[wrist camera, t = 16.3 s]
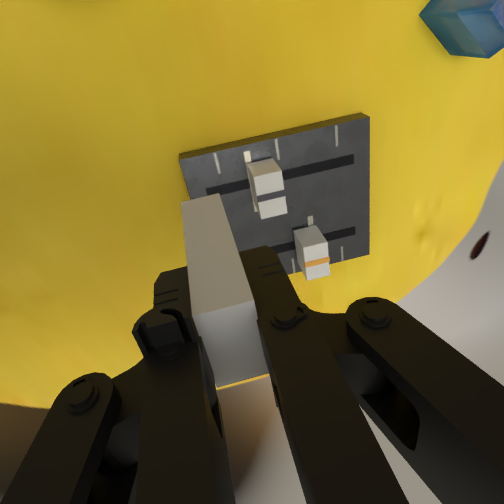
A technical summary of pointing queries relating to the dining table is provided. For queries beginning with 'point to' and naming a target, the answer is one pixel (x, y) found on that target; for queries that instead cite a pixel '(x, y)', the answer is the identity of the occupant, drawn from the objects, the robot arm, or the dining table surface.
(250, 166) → the fader
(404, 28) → the dining table surface
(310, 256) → the fader
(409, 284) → the dining table surface
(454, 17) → the perfume bottle
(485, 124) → the dining table surface
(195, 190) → the console
